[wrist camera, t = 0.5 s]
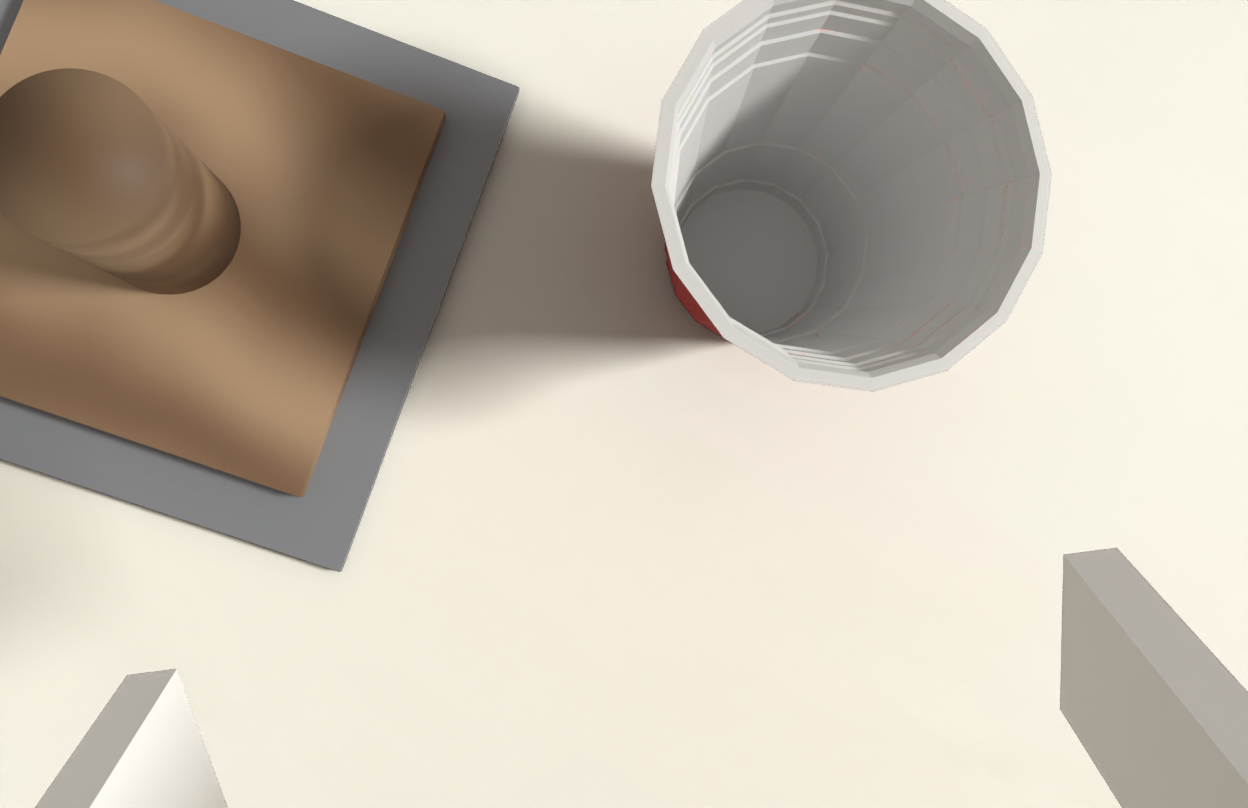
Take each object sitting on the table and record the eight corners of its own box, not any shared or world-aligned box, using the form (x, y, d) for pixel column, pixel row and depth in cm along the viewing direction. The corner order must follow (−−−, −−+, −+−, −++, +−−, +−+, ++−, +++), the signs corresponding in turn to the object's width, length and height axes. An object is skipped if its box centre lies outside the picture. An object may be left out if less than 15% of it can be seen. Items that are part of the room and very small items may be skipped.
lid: (303, 496, 35) (238, 506, 26) (-112, 355, 34) (-326, 316, 25) (446, 118, 36) (429, 8, 28) (52, -31, 35) (-97, -196, 26)
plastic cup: (766, 475, 37) (891, 480, 26) (540, 278, 37) (560, 188, 25) (948, 255, 39) (1147, 161, 27) (733, 61, 38) (838, -121, 26)
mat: (342, 570, 35) (339, 571, 35) (-189, 393, 34) (-199, 392, 33) (518, 92, 37) (518, 87, 37) (22, -99, 36) (15, -107, 35)
